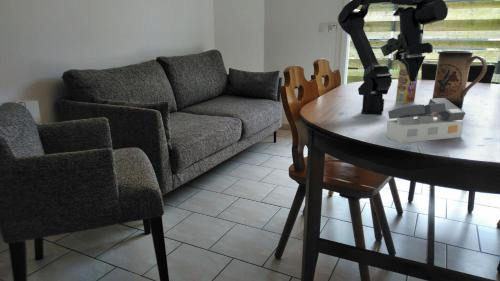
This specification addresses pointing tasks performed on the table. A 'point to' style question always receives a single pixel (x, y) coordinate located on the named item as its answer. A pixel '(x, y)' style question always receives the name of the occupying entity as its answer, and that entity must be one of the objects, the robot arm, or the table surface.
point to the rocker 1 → (407, 111)
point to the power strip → (423, 128)
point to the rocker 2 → (433, 109)
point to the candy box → (405, 87)
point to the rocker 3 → (449, 110)
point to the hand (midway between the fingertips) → (412, 81)
